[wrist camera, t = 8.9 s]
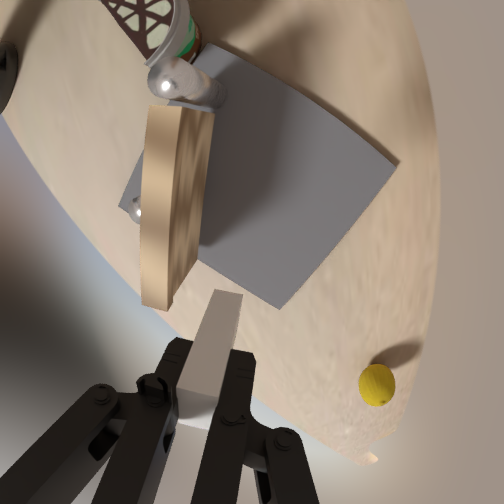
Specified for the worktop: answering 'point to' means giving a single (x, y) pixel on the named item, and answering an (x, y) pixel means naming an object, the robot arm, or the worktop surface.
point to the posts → (181, 94)
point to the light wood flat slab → (172, 198)
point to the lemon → (377, 385)
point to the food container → (158, 28)
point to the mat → (275, 180)
